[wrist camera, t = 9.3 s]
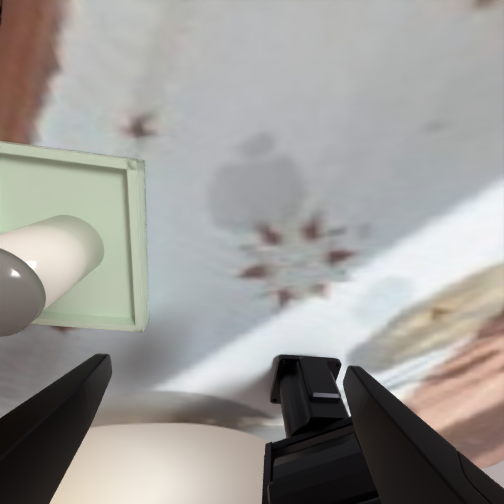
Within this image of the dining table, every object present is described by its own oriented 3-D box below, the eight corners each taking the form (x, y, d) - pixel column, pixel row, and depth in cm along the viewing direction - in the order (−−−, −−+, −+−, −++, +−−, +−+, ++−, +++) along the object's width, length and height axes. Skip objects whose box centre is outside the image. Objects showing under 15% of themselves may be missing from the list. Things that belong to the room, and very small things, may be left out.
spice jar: (108, 276, 20) (42, 339, 13) (42, 271, 19) (-61, 334, 13) (102, 217, 18) (22, 254, 11) (30, 209, 18) (-100, 244, 11)
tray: (149, 321, 22) (142, 332, 21) (20, 311, 21) (5, 322, 20) (144, 160, 17) (135, 160, 16) (-25, 137, 16) (-50, 135, 15)
